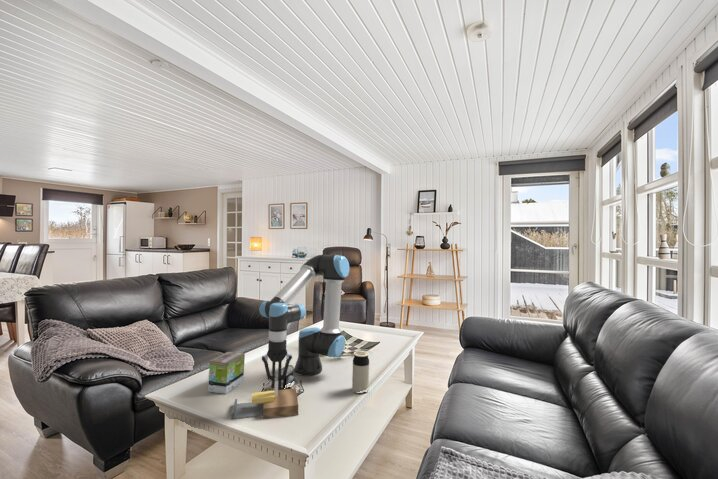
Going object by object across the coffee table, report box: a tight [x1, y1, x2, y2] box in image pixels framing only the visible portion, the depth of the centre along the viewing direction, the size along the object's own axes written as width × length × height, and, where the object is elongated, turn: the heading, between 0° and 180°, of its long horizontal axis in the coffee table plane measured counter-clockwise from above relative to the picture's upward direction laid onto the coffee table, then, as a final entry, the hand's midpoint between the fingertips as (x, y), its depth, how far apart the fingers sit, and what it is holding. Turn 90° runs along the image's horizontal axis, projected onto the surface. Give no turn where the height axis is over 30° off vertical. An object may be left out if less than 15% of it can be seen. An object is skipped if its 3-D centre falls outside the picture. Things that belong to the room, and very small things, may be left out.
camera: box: [275, 364, 296, 390], centre depth 161 cm, size 15×7×10 cm, turn 160°
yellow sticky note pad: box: [251, 389, 274, 404], centre depth 140 cm, size 9×6×2 cm, turn 105°
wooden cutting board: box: [262, 388, 299, 420], centre depth 142 cm, size 14×16×4 cm
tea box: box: [207, 351, 246, 395], centre depth 161 cm, size 15×10×15 cm, turn 168°
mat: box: [231, 398, 263, 420], centre depth 139 cm, size 12×12×2 cm
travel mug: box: [351, 350, 370, 393], centre depth 161 cm, size 8×8×18 cm
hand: (276, 394), depth 142 cm, fingers closed
